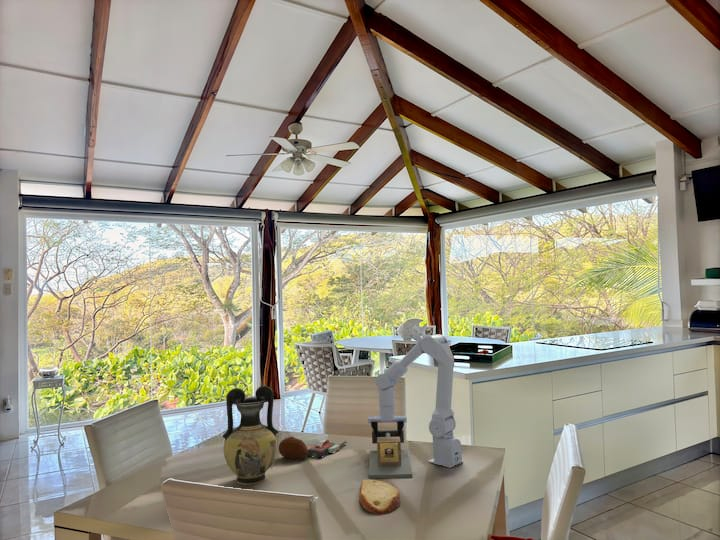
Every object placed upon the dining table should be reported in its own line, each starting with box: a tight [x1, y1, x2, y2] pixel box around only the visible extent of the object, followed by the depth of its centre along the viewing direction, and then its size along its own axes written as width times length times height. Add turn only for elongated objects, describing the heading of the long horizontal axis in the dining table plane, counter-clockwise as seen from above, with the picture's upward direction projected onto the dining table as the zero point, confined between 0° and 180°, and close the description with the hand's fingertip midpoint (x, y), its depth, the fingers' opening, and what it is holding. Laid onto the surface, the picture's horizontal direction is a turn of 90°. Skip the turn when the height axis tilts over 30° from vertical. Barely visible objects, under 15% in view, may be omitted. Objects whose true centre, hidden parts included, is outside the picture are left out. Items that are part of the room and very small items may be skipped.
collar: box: [380, 442, 399, 462], centre depth 162 cm, size 2×6×6 cm, turn 88°
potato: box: [278, 436, 309, 460], centre depth 176 cm, size 8×12×8 cm, turn 78°
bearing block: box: [376, 437, 402, 466], centre depth 166 cm, size 6×8×8 cm
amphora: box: [222, 385, 279, 486], centre depth 157 cm, size 18×17×30 cm
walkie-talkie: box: [307, 439, 348, 458], centre depth 185 cm, size 9×4×20 cm
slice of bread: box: [358, 478, 401, 516], centre depth 137 cm, size 18×18×4 cm
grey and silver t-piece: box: [371, 429, 405, 454], centre depth 172 cm, size 22×12×4 cm, turn 178°
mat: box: [368, 449, 413, 479], centre depth 166 cm, size 26×14×1 cm, turn 178°
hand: (388, 442), depth 180 cm, fingers open, 7 cm apart
